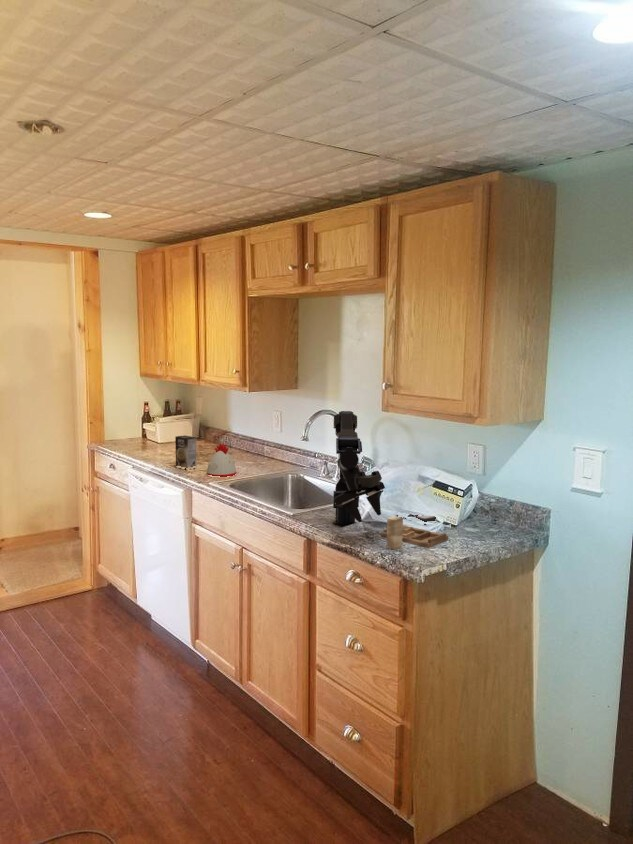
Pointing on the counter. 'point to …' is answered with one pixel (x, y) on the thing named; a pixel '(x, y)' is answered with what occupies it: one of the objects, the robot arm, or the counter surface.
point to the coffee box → (185, 451)
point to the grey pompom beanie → (221, 463)
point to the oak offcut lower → (409, 534)
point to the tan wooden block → (394, 532)
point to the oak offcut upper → (406, 529)
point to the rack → (422, 538)
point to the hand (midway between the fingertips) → (370, 518)
